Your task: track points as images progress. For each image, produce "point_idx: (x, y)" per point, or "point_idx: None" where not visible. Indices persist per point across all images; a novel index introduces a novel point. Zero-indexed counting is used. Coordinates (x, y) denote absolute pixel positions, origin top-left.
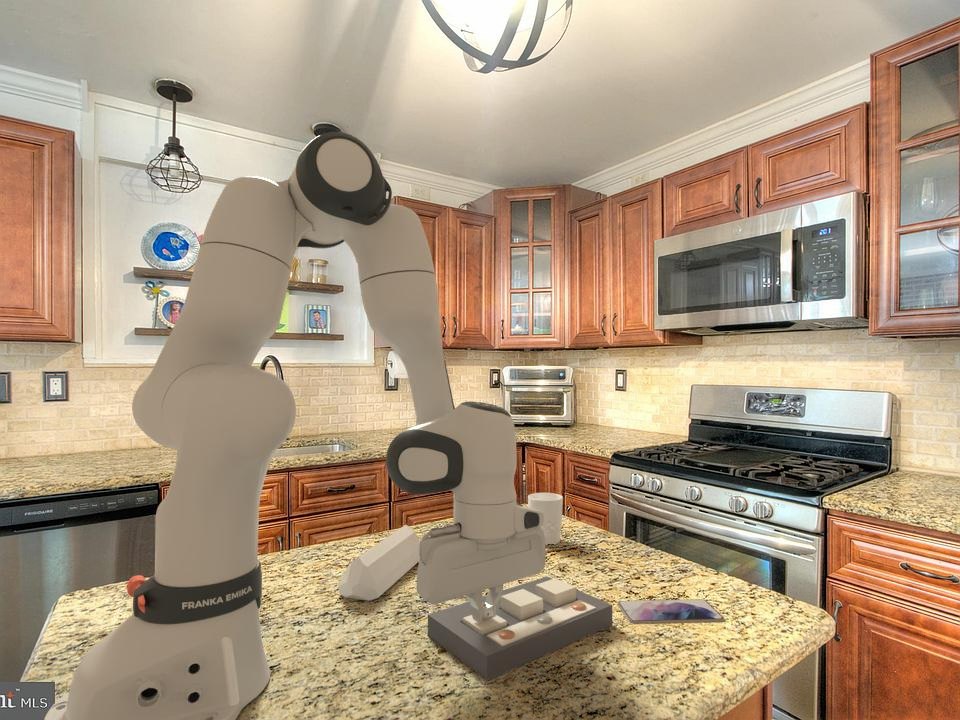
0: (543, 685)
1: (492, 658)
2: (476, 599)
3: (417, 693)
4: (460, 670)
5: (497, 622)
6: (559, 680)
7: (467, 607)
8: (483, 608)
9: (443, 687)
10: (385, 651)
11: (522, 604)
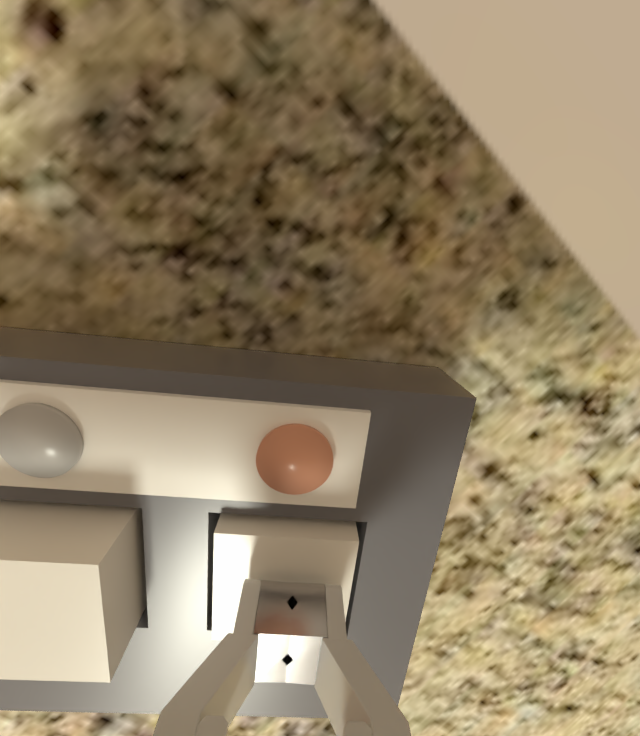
0: (318, 209)
1: (440, 388)
2: (390, 720)
3: (615, 454)
4: None
5: (258, 546)
6: (246, 185)
7: None
8: (317, 641)
9: (549, 429)
10: (514, 642)
11: (72, 574)
